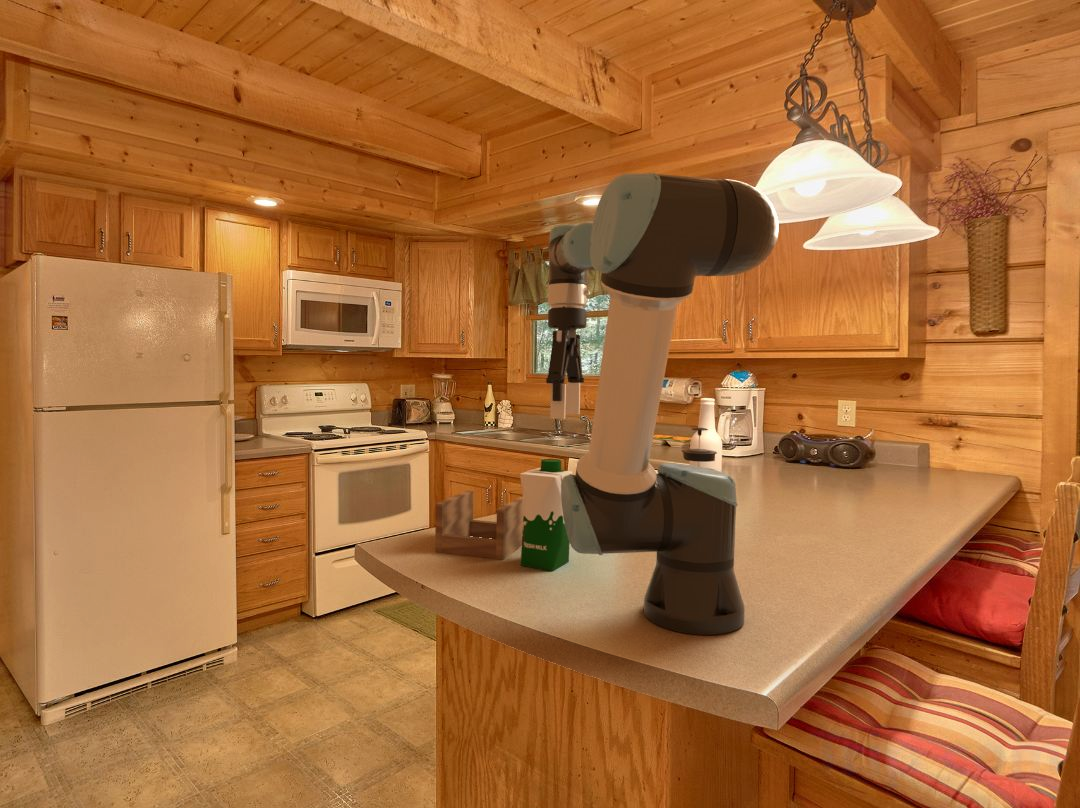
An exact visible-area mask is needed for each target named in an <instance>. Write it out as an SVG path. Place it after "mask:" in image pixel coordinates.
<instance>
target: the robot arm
mask: <svg viewBox="0 0 1080 808" xmlns="http://www.w3.org/2000/svg"><path fill="white" fill-rule="evenodd" d="M778 219H779V218H778V215H777V213H776V210H775V208H774V205H773V203H772V202H771V201H770V200H769V197H767V196H766V195H765V194H764V193H763V192H762V191H760V190H759V189H758V188H757V187H754V186H752V185H750V184H748V183H746V182H743V181H739V180H735V179H727V178H721V179H719V178H706V177H696V176H695V177H694V176H684V175H675V174H673V175H671V174H662V173H655V172H647V173H624V174H620V175H617V176H616V177H614V178H613V179H612V180H611V181H610V182H609V183H608V185H607V186H606V187H605V189H604V191H603V192H602V194H601V197H600V199H599V201H598V204H597V206H596V210H595V212H594V216H593V220H592V221H593V222H587V221H586V222H581V223H579V224H562V225H558V226H553V227H552V229H551V230H550V232H549V242H548V244H547V245H548V292H547V294H548V295H547V296H548V297H547V298H548V299H547V305H548V306H549V307H550V308H549V309H548V310H547V326H548V328H549V329H557V330H552V343H551V352H550V359H549V363H548V364H549V365H548V366H549V367H548V374H547V377H546V379H545V381H546V384H550V407H549V409H550V410H549V411H550V412H549V416H550V417H549V419H551V420H554V419H555V420H565V419H566V415H573V416H574V415H580V410H581V383H584V382H585V377H583V369H582V357H581V355H582V354H581V343H580V342H581V335H580V334H577V329H579V330H580V329H581V330H582V329H585V328H586V327H587V318H588V317H587V310H586V308H584V307H586V306H587V302H588V301H587V300H588V299H587V296H589V295H590V294H591V292H590V289H588V288H587V287H588V271H597V272H599V273H601V274H600V275H601V276H600V285H601V286H602V287H603V289H604V290H606V292H607V293H608V295H609V297H610V299H609V305H608V312H607V319H606V326H605V335H604V342H603V348H602V349H603V350H602V354H601V355H602V356H601V365H600V371H599V376H598V384H597V392H596V400H595V406H594V413H593V421H592V429H591V436H590V441H589V444H590V445H589V449H588V452H587V453H585V454H583V455H582V456H581V457H580V458H578V460H577V462H576V469H575V474H573V473H572V474H569V475H567V476H564V477H563V480H562V482H561V501H562V510H563V517H564V523H565V528H566V532H567V536H568V539H569V542H570V546H571V547H572V550H574V551H575V552H576V553H579V554H583V555H588V554H589V555H599V556H603V555H605V554H606V555H607V554H626V553H627V554H631V553H654V552H656V560H655V561H656V563H655V566H654V569H653V571H652V572H653V573H652V574H651V578H650V580H649V584H648V586H647V588H646V591H645V594H644V598H643V614H644V616H645V618H646V619H648V621H650V622H652V623H653V624H655V625H657V626H658V627H659V626H660V627H661V628H664V629H668V630H671V631H675V632H679V633H685V634H691V635H692V634H693V635H702V636H703V635H708V636H709V635H721V634H727V633H732V632H735V631H737V630H738V629H741V627H743V625H744V623H745V605H744V601H743V598H742V595H741V590H740V587H739V584H738V580H737V577H736V574H735V543H736V541H735V540H736V518H737V517H736V515H737V507H738V501H737V488H736V482H735V479H733V477H732V476H731V475H729V474H728V473H726V472H720V471H716V470H712V469H707V468H702V467H697V466H690V464H682V463H675V462H674V463H672V462H668V463H666V462H662V463H660V464H659V466H658V468H657V471H656V470H655V467H654V466H653V465H652V464H651V463H650V456H651V452H652V446H653V440H654V433H655V429H656V423H657V418H658V413H659V408H660V403H661V402H660V401H661V397H662V393H663V386H664V379H665V375H666V368H667V363H668V358H669V353H670V347H671V342H672V337H673V331H674V325H675V320H676V314H677V308H678V306H679V305H680V304H681V303H683V302H684V301H685V300H688V298H689V297H691V295H692V294H693V290H694V285H695V279H696V277H727V276H728V277H729V276H736V275H737V276H738V275H741V274H745V273H747V272H750V271H752V270H754V269H756V268H757V267H759V266H760V265H762V263H764V262H765V261H766V260H767V259H768V257H770V255H771V254H772V252H773V250H774V248H775V246H776V243H777V241H778V237H779V229H780V228H779V220H778ZM566 376H567V382H566V384H565V381H566V380H565V379H566Z"/></svg>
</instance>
